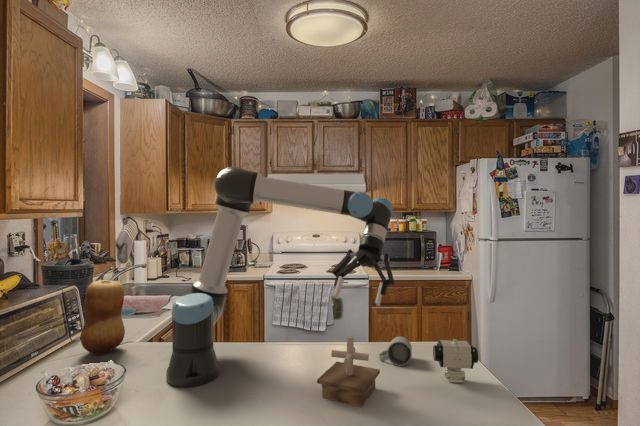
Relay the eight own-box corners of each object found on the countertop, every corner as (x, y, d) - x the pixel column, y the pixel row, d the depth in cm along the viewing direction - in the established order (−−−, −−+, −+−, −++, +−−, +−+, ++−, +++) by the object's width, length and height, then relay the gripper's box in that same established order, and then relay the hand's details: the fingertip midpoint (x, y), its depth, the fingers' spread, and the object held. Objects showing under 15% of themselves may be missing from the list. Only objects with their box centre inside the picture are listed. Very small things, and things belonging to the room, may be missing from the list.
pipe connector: (366, 384, 96) (367, 344, 96) (327, 379, 98) (328, 341, 98) (369, 369, 106) (370, 333, 106) (334, 365, 108) (335, 330, 108)
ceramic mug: (411, 357, 126) (411, 334, 126) (411, 367, 118) (411, 342, 118) (380, 354, 129) (379, 332, 129) (377, 364, 121) (377, 340, 121)
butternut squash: (123, 356, 127) (122, 283, 127) (76, 363, 122) (75, 286, 122) (126, 343, 140) (126, 276, 140) (84, 348, 135) (84, 279, 135)
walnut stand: (317, 398, 99) (317, 379, 99) (336, 378, 111) (336, 361, 111) (364, 409, 93) (364, 389, 93) (379, 387, 105) (379, 369, 105)
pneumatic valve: (432, 376, 112) (432, 335, 112) (473, 378, 110) (473, 337, 110) (436, 384, 106) (436, 342, 106) (479, 387, 105) (479, 344, 105)
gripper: (412, 250, 121) (398, 312, 111) (341, 242, 133) (323, 298, 123) (408, 238, 116) (393, 302, 106) (335, 231, 127) (315, 289, 117)
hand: (355, 300), depth 114 cm, fingers open, 13 cm apart
